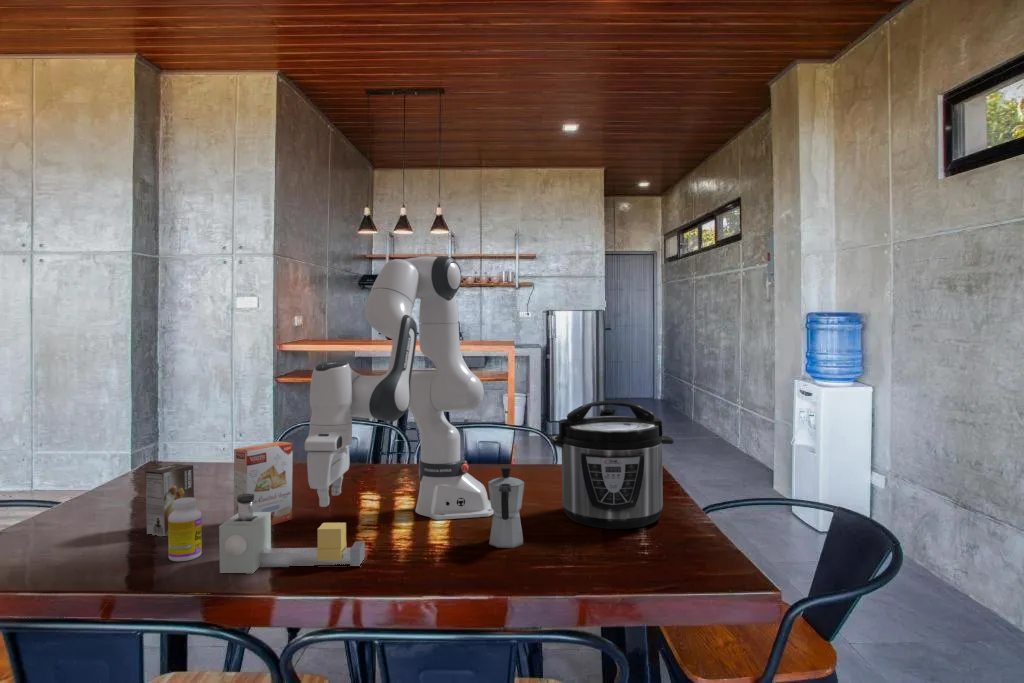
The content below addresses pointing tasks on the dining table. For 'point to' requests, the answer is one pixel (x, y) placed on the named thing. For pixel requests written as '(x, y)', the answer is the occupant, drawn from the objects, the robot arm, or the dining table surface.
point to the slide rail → (309, 556)
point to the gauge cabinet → (244, 543)
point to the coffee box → (166, 494)
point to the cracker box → (265, 478)
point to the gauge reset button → (245, 507)
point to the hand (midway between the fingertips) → (330, 500)
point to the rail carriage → (331, 541)
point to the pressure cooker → (612, 466)
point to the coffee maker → (506, 510)
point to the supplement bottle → (184, 530)
